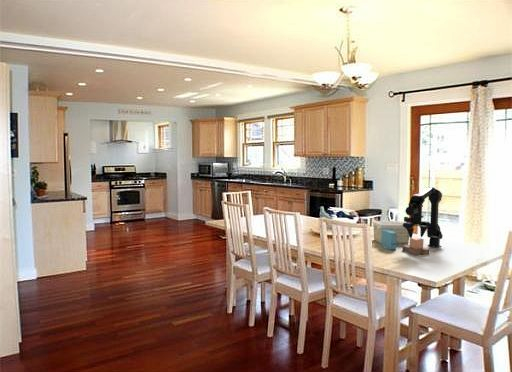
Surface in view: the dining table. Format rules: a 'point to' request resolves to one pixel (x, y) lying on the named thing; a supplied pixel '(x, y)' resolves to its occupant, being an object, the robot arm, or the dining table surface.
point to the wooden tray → (415, 250)
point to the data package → (389, 239)
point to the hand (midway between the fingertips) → (416, 237)
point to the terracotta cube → (416, 243)
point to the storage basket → (392, 226)
